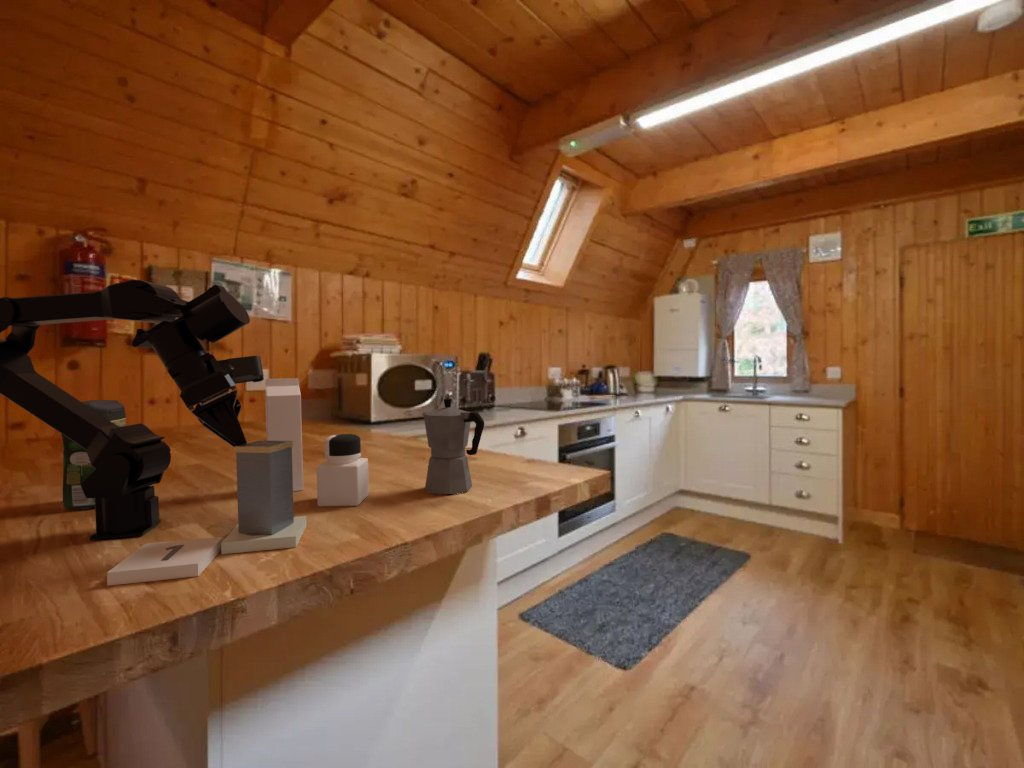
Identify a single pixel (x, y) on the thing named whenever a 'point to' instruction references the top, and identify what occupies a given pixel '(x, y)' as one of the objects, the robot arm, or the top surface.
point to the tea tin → (264, 486)
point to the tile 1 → (165, 561)
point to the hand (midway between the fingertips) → (244, 448)
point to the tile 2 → (264, 539)
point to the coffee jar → (85, 457)
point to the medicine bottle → (342, 472)
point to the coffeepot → (450, 448)
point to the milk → (286, 420)
